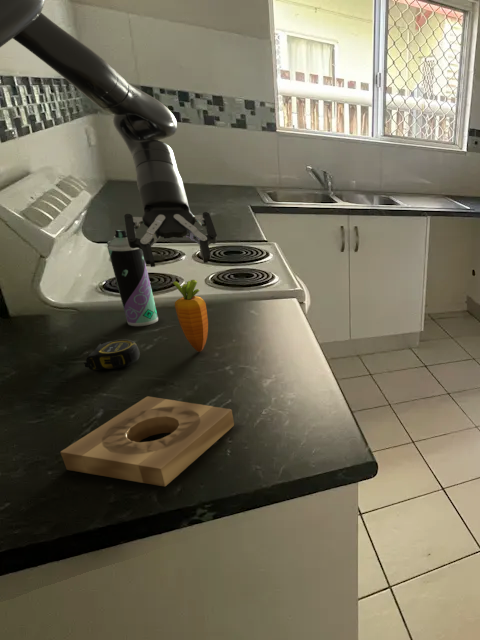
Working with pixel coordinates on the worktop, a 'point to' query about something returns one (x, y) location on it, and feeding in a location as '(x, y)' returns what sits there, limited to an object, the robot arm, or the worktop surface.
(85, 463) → the socket pad
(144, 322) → the spray can
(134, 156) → the robot arm
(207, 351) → the worktop surface
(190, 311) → the carrot
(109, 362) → the tape measure
